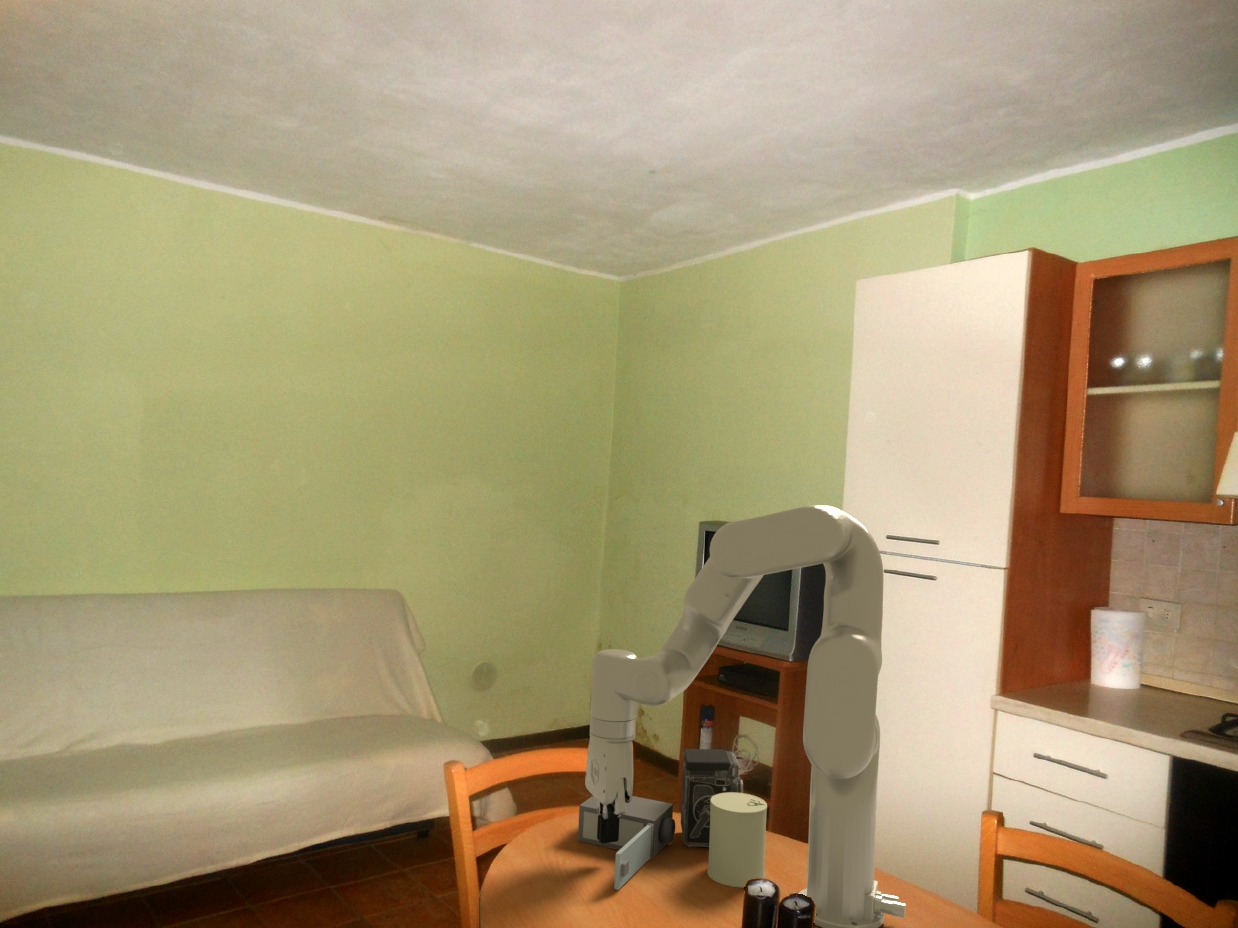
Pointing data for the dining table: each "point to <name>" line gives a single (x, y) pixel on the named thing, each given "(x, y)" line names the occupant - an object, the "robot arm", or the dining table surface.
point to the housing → (630, 822)
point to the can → (736, 838)
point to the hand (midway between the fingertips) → (607, 840)
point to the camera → (705, 789)
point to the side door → (633, 855)
